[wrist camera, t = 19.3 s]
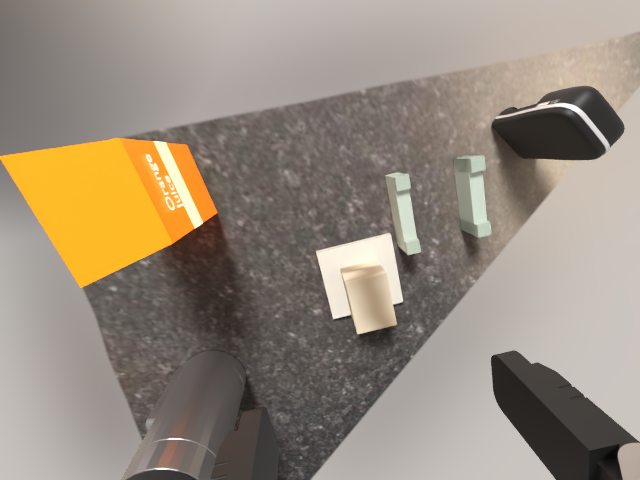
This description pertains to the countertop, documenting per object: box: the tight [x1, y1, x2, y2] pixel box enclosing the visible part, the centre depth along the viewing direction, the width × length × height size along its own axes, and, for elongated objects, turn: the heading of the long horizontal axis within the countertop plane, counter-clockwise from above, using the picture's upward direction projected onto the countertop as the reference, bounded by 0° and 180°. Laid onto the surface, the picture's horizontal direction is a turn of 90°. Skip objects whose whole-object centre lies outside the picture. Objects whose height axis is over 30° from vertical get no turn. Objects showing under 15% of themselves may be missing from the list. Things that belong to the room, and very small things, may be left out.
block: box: [340, 260, 397, 334], centre depth 39 cm, size 5×7×5 cm
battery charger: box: [492, 86, 624, 160], centre depth 33 cm, size 7×4×11 cm, turn 49°
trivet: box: [316, 233, 403, 319], centre depth 42 cm, size 10×10×1 cm
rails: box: [385, 156, 491, 255], centre depth 38 cm, size 10×10×4 cm
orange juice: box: [0, 138, 217, 288], centre depth 28 cm, size 8×9×20 cm
